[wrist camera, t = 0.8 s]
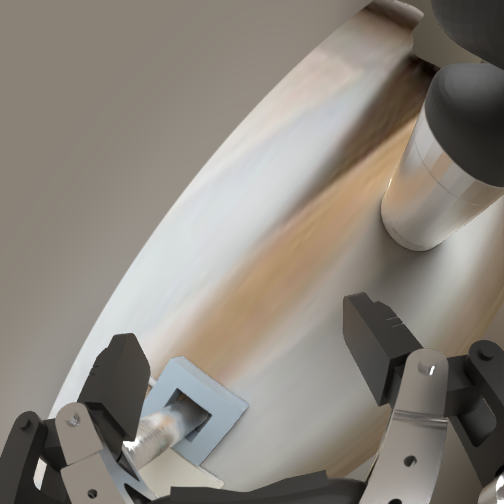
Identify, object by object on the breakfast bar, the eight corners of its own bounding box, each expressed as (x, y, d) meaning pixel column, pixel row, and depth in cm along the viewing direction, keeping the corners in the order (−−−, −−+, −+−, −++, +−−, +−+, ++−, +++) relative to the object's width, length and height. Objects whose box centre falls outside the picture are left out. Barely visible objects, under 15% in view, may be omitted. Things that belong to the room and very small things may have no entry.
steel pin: (188, 384, 31) (91, 422, 14) (219, 407, 29) (138, 468, 13) (171, 410, 30) (76, 454, 14) (200, 432, 29) (118, 495, 13)
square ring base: (143, 322, 34) (130, 321, 31) (249, 404, 29) (242, 412, 26) (113, 376, 33) (99, 378, 30) (206, 456, 28) (197, 466, 25)
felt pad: (163, 438, 29) (160, 440, 29) (225, 483, 26) (223, 485, 26) (136, 474, 28) (133, 476, 28) (190, 515, 25) (188, 517, 25)
